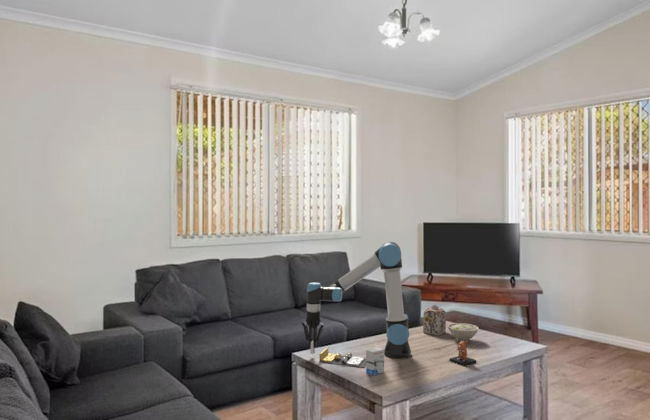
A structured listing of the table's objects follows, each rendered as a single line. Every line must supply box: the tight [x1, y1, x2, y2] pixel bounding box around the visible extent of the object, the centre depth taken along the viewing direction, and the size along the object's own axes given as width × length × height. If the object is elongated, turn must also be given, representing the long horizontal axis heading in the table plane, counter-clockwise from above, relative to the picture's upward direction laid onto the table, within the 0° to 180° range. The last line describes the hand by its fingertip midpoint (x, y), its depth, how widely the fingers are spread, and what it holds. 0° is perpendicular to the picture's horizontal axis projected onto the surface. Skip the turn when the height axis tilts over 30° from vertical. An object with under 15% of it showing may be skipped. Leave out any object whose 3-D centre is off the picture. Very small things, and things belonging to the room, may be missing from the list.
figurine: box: [448, 340, 477, 367], centre depth 263 cm, size 10×10×12 cm
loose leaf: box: [319, 347, 342, 363], centre depth 265 cm, size 10×12×4 cm
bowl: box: [446, 322, 479, 343], centre depth 304 cm, size 19×19×10 cm
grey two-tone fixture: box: [318, 354, 366, 369], centre depth 263 cm, size 25×14×1 cm, turn 70°
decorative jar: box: [422, 304, 447, 337], centre depth 322 cm, size 12×12×18 cm
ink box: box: [365, 346, 385, 376], centre depth 246 cm, size 9×5×12 cm, turn 129°
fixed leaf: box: [341, 351, 365, 366], centre depth 261 cm, size 10×13×3 cm
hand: (312, 353), depth 269 cm, fingers closed
